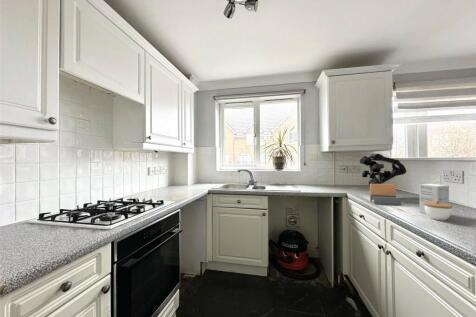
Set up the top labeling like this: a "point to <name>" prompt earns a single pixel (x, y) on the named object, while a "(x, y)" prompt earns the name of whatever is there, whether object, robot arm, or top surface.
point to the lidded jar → (438, 210)
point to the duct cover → (383, 189)
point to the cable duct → (385, 200)
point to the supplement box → (433, 194)
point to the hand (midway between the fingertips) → (378, 182)
